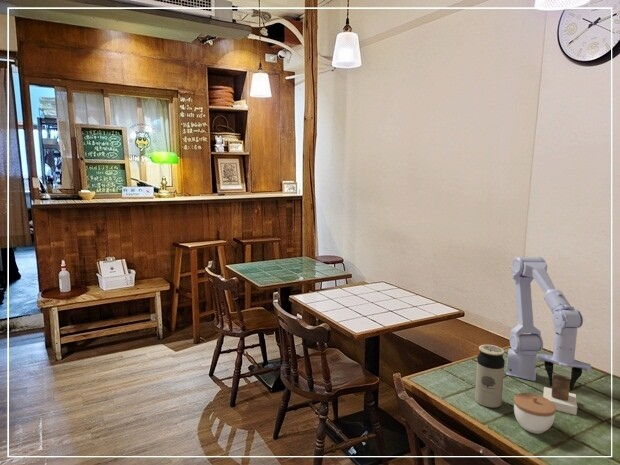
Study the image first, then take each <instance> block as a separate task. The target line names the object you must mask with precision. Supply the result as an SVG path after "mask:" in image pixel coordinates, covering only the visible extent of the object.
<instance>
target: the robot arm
mask: <svg viewBox="0 0 620 465" xmlns="http://www.w3.org/2000/svg"><path fill="white" fill-rule="evenodd" d="M510 266H511V278H512V279H513V280H514V291H515V302H516V303H515V305H516V318H517V319H516V320H517V325H515V326H514V327H513V328H512V329H511V330H510V336H509V344H510V347H511V348H508V352H507V359H506V360H507V362H506V364H505V367H506V375H507V376H511V377H515V378H517V379H518V378H520V379H523V380H529V381H532V382H536V380H537V379H536V378H537V371H536V365H537V364H536V363H537V362H539V363H541V362H542V363H543V362H544V365H543V366H544V368H545V371H546V373H547V377H548V382H549V386H550V387H552V383H553V373H554V365H556V366H557V365H559V366H560V367H565V368H571V372H570V373H571V374H570V388H569V391H571V392H572V391H573V390H574V386H575V384H576V382H577V380H578V379H580V377H581V376H582V375H583V371H586V372H588V373H591V372H592V371H591V370H592V364H591V363H588V362H584V361H581V360H577V359H575V356H576V347H577V346H576V345H577V336H578V335H577V334H578V328H581V327H582V326H583V322H584V317H583V315H582V312H581V311H580V310H579V309H577V308H575V307H574V306H571V303H570V302H569V301H568V300H567V298H566V296H565V295H564V293H563V291H561V290H559V289H556V287H555V285H554V283H553V282H552V279H551V277H550V275H549V273H548V272H547V271H548V263H547V262H546V260H545V259H544V258H543V257H542V256H537V257H536V256H532V257H531V256H530V257H529V256H527V257H526V256H524V257H523V256H515V257H514V258H513V259H512V262H511V263H510ZM533 281H535V282H536V284H537V285H538V286H539V288H540V289H541V291H543V293H544V296H543V299H544V301H545V303H546V305H547V306H548V308H549V310H550V311H551V314H552V316H551V321H552V323H553V330H554V343H553V354H545V353H543V354H542V353H539V352H540V351H542V350H543V349H544V340H543V337H542V334H541V333H542V332H541V331H540V329H538V328H537V327H535V325H534V311H533V300H532V299H533V298H532V288H531V287H532V286H531V283H532V282H533Z"/></svg>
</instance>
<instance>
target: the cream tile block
mask: <svg viewBox="0 0 620 465" xmlns="http://www.w3.org/2000/svg"><path fill="white" fill-rule="evenodd" d="M542 397H544V398H546V399H548V400H550V401H551V402H552V403H553V404H554V405H555V407H556V412H561V413H562V412H563V413H565V414H570V415H572V416H577V415H578V414H577V413H578V403H577V394H576V393H572V392H569V397H568V400H564V399H560V398H556V397H552V387H547V386H543V395H542Z"/></svg>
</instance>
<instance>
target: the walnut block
mask: <svg viewBox="0 0 620 465" xmlns="http://www.w3.org/2000/svg"><path fill="white" fill-rule="evenodd" d="M570 380H571V376H567V375H563V374H558V373H554V372H553V375H552V386H551V389H552V397H556V398H560V399H564V400H568V397H569V393H570Z"/></svg>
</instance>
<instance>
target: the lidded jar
mask: <svg viewBox="0 0 620 465" xmlns="http://www.w3.org/2000/svg"><path fill="white" fill-rule="evenodd" d="M556 412H557V410H556V407H555V405H554V404H553V403H552V402H551V401H550V400H548V399H546V398H544V397H543V395H542V396H541V395H540V394H539V395H538V394H535V393H528V392H520V393H518V394H515V395H514V397H513V413H514V416H515V419H516V421H517V422H518V423H519V425H520V427H521V428H522V429H523V430H525V431H526V432H528V433H532V434H536V435H537V434H538V435H539V434H543V433H544V432H546V431H548V430H549V429H550V428H551V427H552V426H553V424H554V422H555V417H556Z"/></svg>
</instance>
